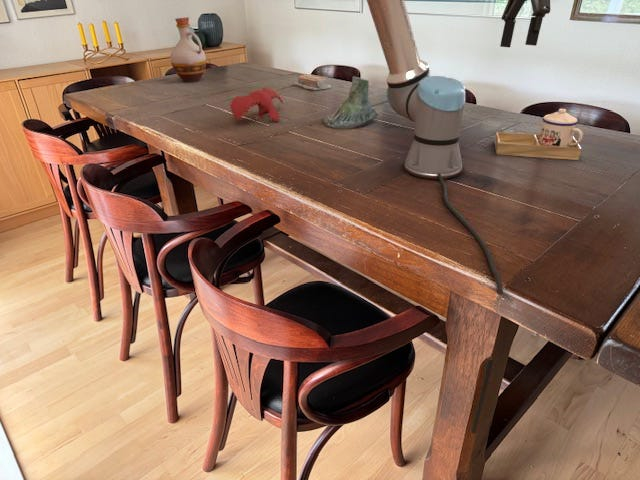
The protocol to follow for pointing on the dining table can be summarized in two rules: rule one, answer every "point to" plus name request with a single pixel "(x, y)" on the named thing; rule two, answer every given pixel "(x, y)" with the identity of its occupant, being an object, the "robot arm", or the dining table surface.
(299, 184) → the dining table surface
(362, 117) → the tree stump
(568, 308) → the dining table surface
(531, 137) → the organizer
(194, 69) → the jug
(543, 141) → the teacup with lid
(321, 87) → the packaged product
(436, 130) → the robot arm
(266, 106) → the red animal figurine
